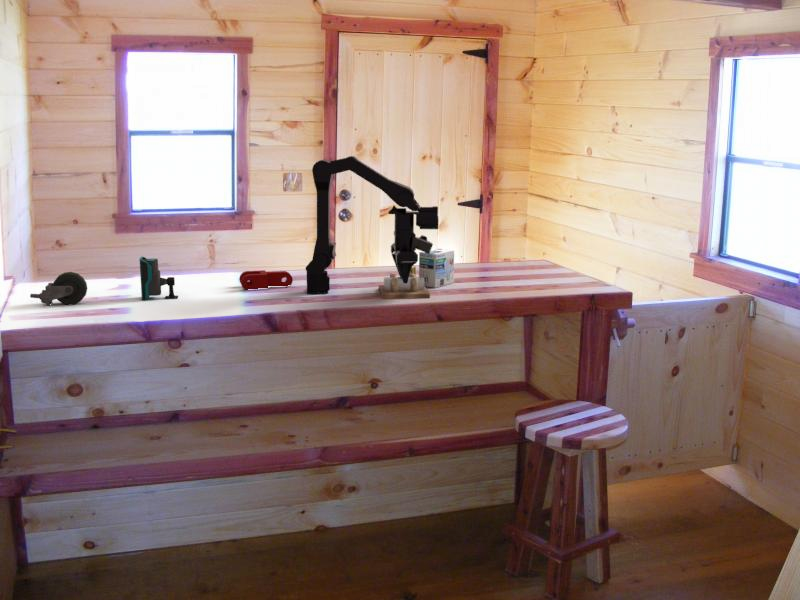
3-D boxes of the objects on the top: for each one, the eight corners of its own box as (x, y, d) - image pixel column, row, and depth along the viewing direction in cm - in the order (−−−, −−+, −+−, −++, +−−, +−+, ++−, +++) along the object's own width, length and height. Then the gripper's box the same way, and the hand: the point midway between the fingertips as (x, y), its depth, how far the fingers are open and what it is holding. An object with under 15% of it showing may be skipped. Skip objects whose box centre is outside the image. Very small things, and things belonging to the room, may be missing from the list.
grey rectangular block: (423, 288, 277) (423, 276, 276) (424, 290, 274) (424, 278, 273) (383, 288, 276) (383, 277, 275) (384, 290, 273) (384, 279, 272)
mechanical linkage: (241, 291, 277) (241, 275, 276) (239, 287, 284) (239, 271, 283) (293, 289, 281) (293, 273, 280) (290, 284, 288) (290, 269, 287)
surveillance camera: (175, 258, 262) (139, 259, 260) (177, 299, 264) (141, 300, 263) (176, 255, 267) (141, 256, 265) (178, 295, 270) (143, 296, 268)
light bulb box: (435, 288, 283) (435, 254, 281) (417, 285, 287) (418, 252, 285) (454, 283, 291) (455, 250, 289) (437, 280, 295) (437, 247, 293)
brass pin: (408, 286, 286) (408, 267, 285) (407, 284, 288) (407, 266, 287) (416, 286, 286) (416, 267, 285) (415, 284, 289) (415, 265, 287)
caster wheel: (87, 304, 262) (32, 301, 259) (88, 271, 260) (33, 268, 257) (84, 309, 256) (28, 305, 253) (85, 275, 254) (29, 271, 251)
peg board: (382, 298, 268) (382, 281, 266) (378, 288, 281) (378, 272, 280) (429, 297, 269) (430, 280, 268) (423, 288, 283) (423, 271, 282)
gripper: (435, 233, 263) (434, 286, 266) (426, 224, 281) (425, 274, 284) (397, 233, 262) (396, 286, 265) (390, 224, 280) (390, 274, 283)
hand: (403, 280), depth 274 cm, fingers open, 9 cm apart
